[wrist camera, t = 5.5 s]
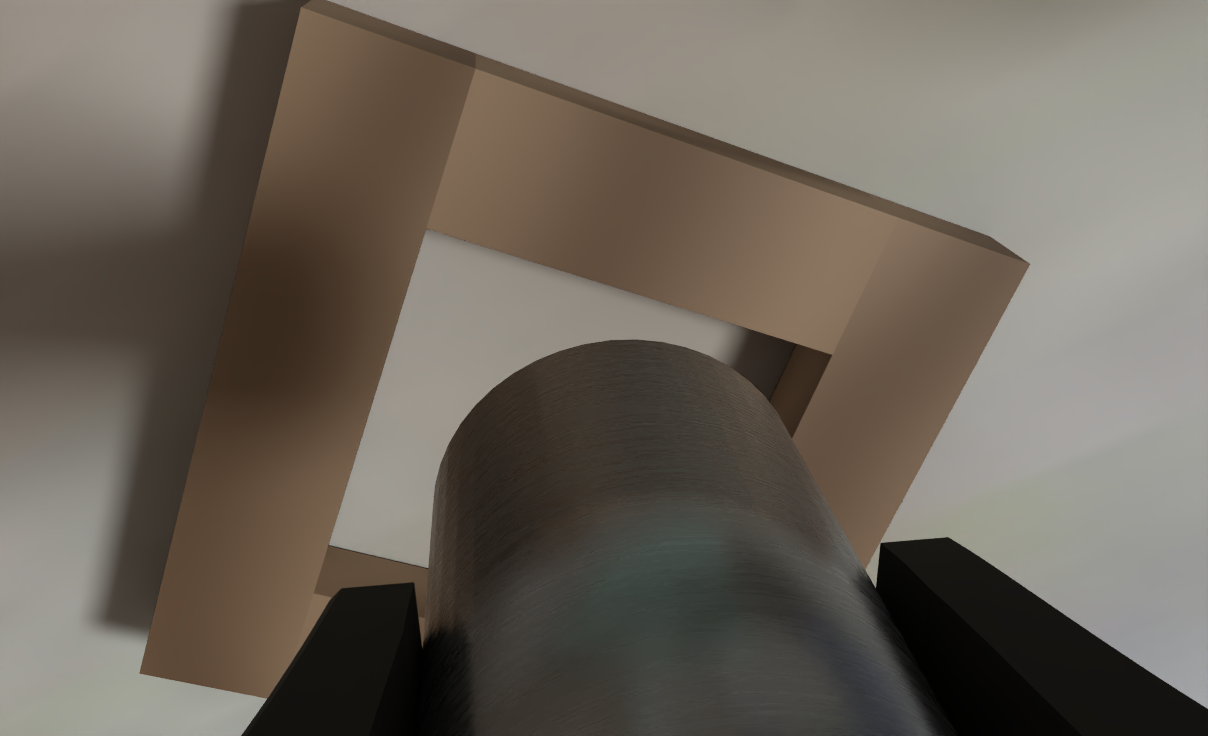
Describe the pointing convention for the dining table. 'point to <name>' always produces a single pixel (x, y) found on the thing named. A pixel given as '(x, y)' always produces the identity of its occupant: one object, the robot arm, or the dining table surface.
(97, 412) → the dining table surface
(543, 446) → the metal axle
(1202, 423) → the dining table surface
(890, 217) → the brown square frame
